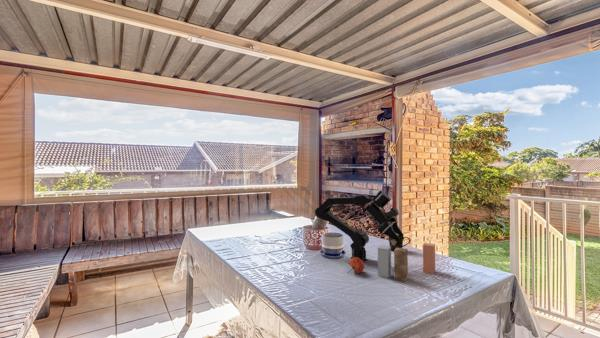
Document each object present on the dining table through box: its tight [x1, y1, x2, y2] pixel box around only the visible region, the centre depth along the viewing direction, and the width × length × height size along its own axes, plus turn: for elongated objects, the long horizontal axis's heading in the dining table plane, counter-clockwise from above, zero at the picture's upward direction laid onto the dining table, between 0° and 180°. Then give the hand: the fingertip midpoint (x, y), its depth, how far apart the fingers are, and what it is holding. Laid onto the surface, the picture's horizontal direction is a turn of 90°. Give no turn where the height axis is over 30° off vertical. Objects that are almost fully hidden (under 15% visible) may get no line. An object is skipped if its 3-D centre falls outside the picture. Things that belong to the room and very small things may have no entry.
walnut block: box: [393, 247, 409, 282], centre depth 120 cm, size 4×4×12 cm
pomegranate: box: [347, 257, 365, 275], centre depth 127 cm, size 7×7×10 cm
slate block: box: [377, 244, 392, 279], centre depth 124 cm, size 4×4×12 cm
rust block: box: [422, 242, 436, 275], centre depth 127 cm, size 4×4×12 cm
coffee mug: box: [387, 232, 411, 253], centre depth 160 cm, size 12×9×10 cm
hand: (400, 237), depth 135 cm, fingers open, 9 cm apart
